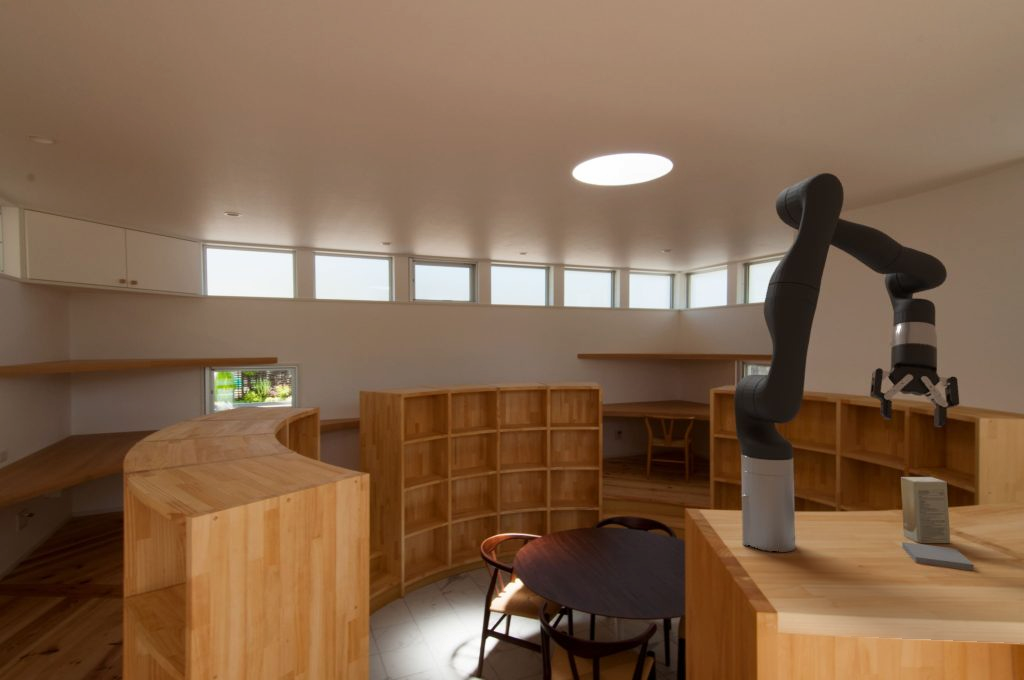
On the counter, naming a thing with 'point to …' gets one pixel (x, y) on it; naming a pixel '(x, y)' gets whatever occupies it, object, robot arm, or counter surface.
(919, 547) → the grey square slab
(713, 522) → the counter surface
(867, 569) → the counter surface
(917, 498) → the skincare box
